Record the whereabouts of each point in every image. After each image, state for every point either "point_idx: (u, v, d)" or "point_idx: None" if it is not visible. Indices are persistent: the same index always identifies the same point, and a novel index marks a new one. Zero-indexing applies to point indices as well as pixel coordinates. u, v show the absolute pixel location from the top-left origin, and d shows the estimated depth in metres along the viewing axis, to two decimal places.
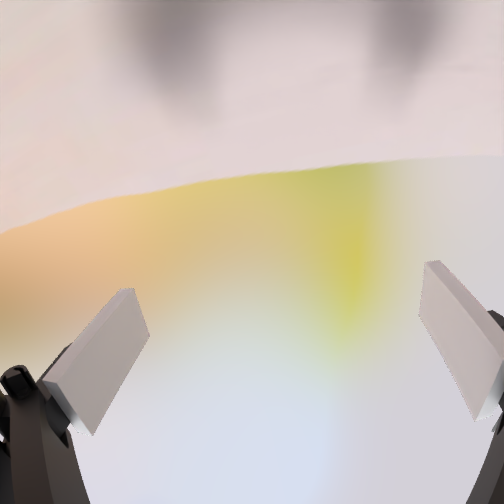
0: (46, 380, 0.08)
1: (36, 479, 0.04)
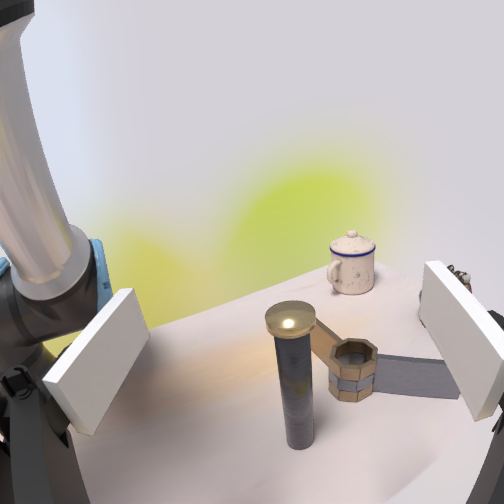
0: (46, 380, 0.08)
1: (36, 479, 0.04)
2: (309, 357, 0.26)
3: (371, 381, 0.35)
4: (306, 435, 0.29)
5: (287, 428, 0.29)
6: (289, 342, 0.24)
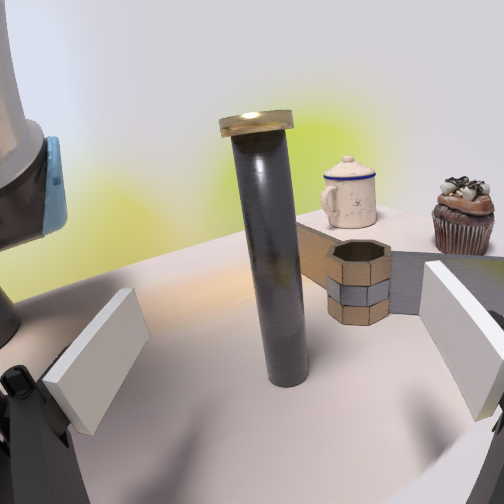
0: (46, 380, 0.08)
1: (35, 479, 0.04)
2: (289, 188, 0.17)
3: (386, 292, 0.26)
4: (296, 357, 0.20)
5: (265, 343, 0.21)
6: (253, 148, 0.16)
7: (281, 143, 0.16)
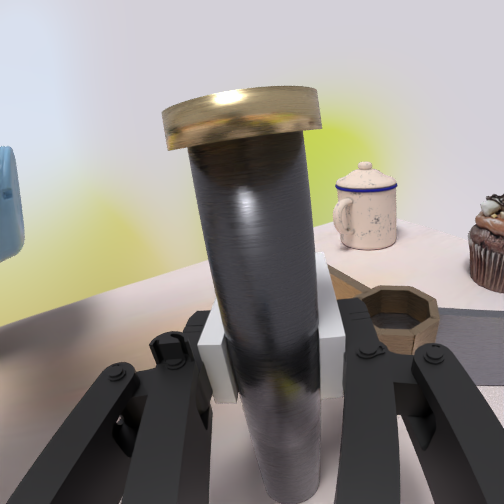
0: (204, 344, 0.09)
1: (162, 471, 0.05)
2: (310, 257, 0.08)
3: None
4: (305, 481, 0.12)
5: (260, 466, 0.12)
6: (232, 176, 0.07)
7: (296, 163, 0.07)
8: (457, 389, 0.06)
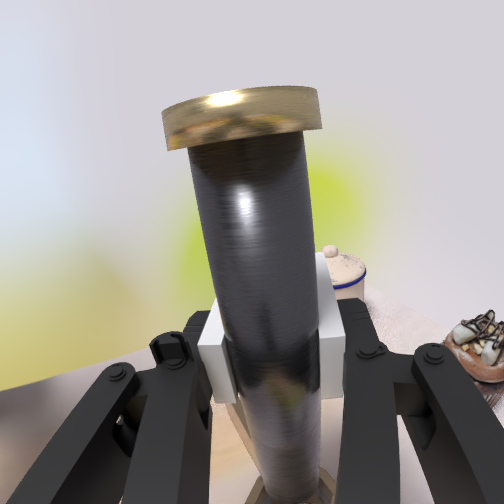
0: (204, 344, 0.09)
1: (162, 471, 0.05)
2: (310, 257, 0.08)
3: None
4: (305, 481, 0.12)
5: (260, 466, 0.12)
6: (232, 176, 0.07)
7: (296, 163, 0.07)
8: (457, 389, 0.06)
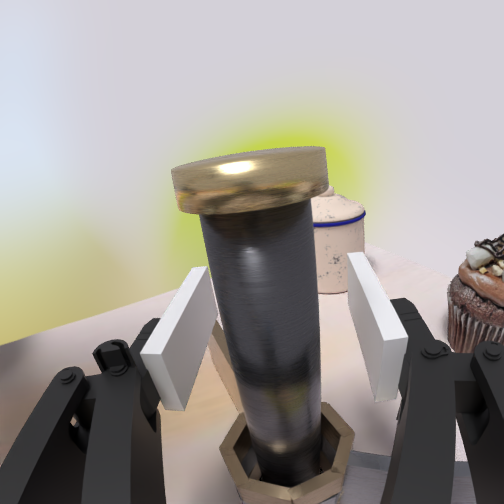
0: (146, 353, 0.09)
1: (114, 470, 0.05)
2: (314, 307, 0.09)
3: None
4: None
5: (264, 480, 0.12)
6: (242, 241, 0.07)
7: (303, 224, 0.08)
8: None
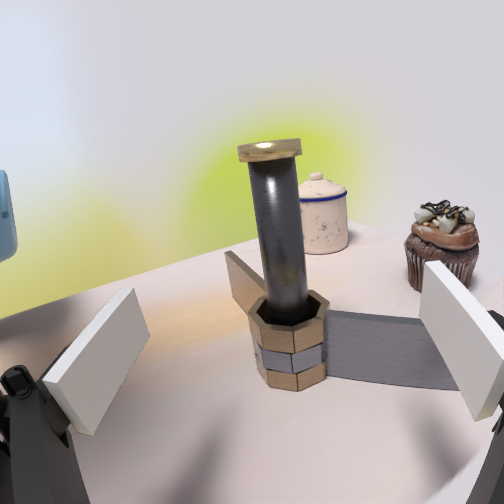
0: (46, 380, 0.08)
1: (35, 479, 0.04)
2: (297, 206, 0.20)
3: (319, 357, 0.22)
4: None
5: None
6: (267, 172, 0.19)
7: (291, 168, 0.19)
8: None
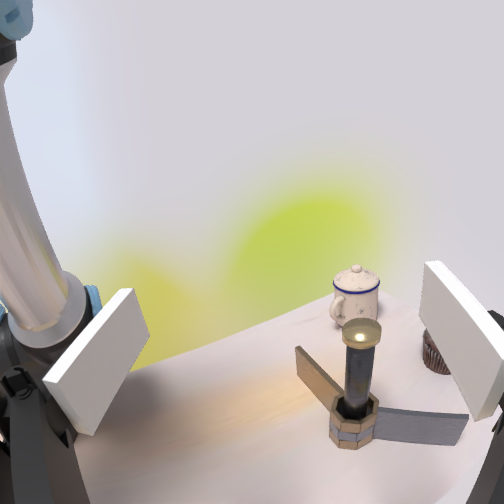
0: (46, 380, 0.08)
1: (36, 479, 0.04)
2: (372, 362, 0.30)
3: (371, 431, 0.33)
4: None
5: None
6: (361, 352, 0.29)
7: (374, 345, 0.29)
8: None
